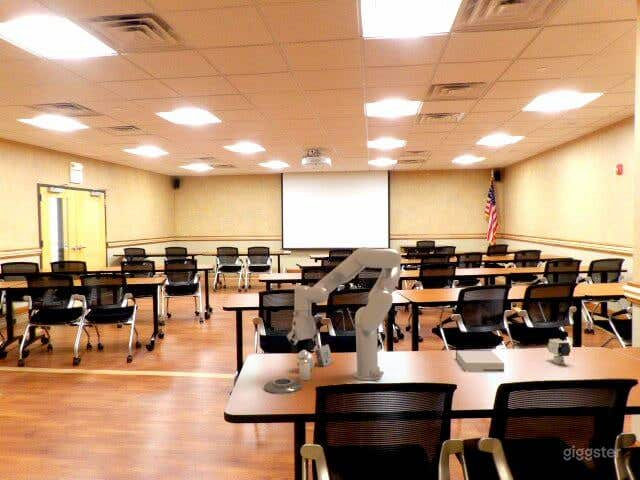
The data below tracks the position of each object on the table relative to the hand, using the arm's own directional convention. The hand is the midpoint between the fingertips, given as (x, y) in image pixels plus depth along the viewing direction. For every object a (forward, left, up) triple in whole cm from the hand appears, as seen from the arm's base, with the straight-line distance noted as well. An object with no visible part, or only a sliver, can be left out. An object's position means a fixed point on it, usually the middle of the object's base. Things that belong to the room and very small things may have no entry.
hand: (302, 351), depth 214 cm
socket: (-2, +13, -13) cm, 19 cm away
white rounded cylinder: (0, -1, -13) cm, 13 cm away
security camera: (-71, -101, -13) cm, 124 cm away
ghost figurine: (+10, -10, -13) cm, 19 cm away
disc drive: (-45, -73, -13) cm, 87 cm away
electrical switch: (+11, -23, -13) cm, 28 cm away
